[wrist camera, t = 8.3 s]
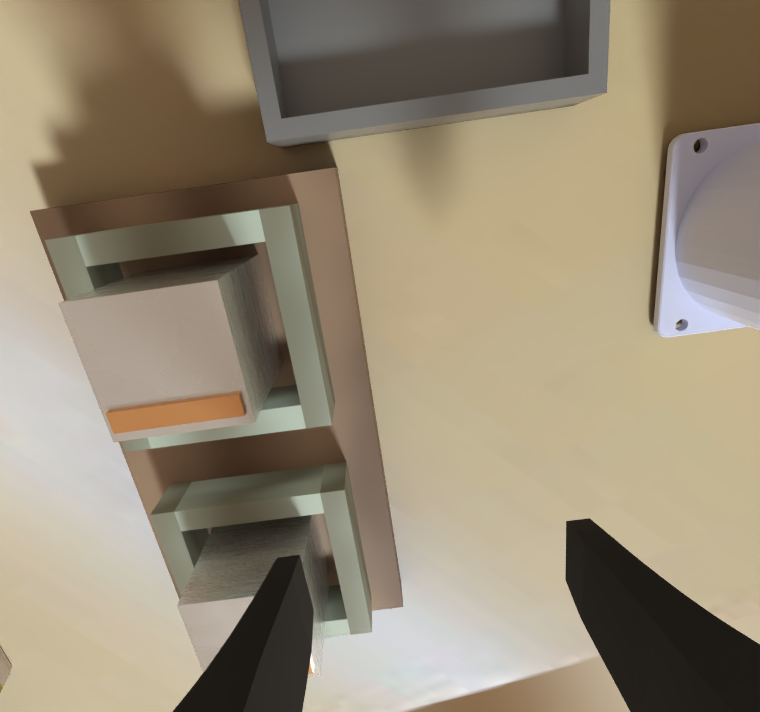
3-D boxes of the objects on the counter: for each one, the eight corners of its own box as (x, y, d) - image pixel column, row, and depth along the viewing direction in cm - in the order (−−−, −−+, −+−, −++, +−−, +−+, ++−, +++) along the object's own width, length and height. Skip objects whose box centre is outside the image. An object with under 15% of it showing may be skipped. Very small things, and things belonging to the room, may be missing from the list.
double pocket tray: (337, 168, 17) (330, 165, 14) (401, 582, 25) (406, 643, 22) (56, 208, 18) (-15, 214, 14) (202, 607, 25) (177, 670, 22)
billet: (313, 500, 21) (298, 594, 16) (330, 572, 22) (320, 679, 18) (219, 512, 21) (175, 609, 16) (242, 584, 23) (208, 692, 18)
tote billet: (258, 254, 17) (215, 281, 12) (283, 363, 19) (253, 425, 14) (142, 270, 17) (54, 304, 12) (177, 377, 19) (111, 444, 14)
